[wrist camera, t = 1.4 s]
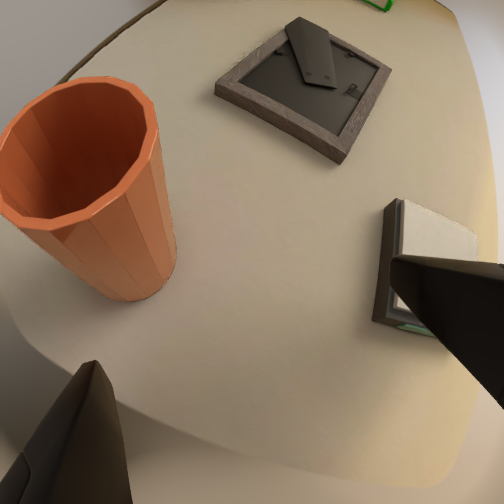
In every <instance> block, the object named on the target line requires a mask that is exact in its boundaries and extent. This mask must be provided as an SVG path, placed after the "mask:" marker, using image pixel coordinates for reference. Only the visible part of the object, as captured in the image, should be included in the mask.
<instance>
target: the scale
mask: <svg viewBox="0 0 504 504" xmlns="http://www.w3.org/2000/svg"><path fill="white" fill-rule="evenodd" d="M400 254H406V255H416V256H427V257H437V258H448V259H458V260H468V261H478V241H477V233H475V232H473V231H471V230H470V229H468V228H466V227H464V226H462V225H460V224H458V223H456V222H454V221H452V220H449V219H447V218H445V217H443V216H441V215H439V214H437V213H435V212H433V211H431V210H428V209H426V208H424V207H422V206H420V205H417V204H415V203H413V202H411V201H408V200H406V199H404V200H403V201H402V200H400V199H397V198H395V199H394V200H393V201H392V202H391V203H390V204H389V205H387V206H386V207H385V209H384V224H383V237H382V248H381V258H380V267H379V275H378V283H377V291H376V298H375V305H374V311H373V318H372V321H374V322H378V323H382V324H386V325H390V326H394V327H397V328H400V329H404V330H408V331H412V332H416V333H421V334H425V335H429V336H433V337H435V336H434V335H433V334H432V333H431V332H430V331H429V330H428V329H427V328H426V327H425V326H424V325H423V324H422V323H421V322H420V321H419V320H418V319H417V318H416V316H415V315H414V314H413V313H412V312H411V311H410V309H409V308H408V307H407V306H406V305H405V303H404V302H403V301H402V300H401V299H400V298H399V296H398V295H397V294H396V293H395V292H394V291H393V289H392V288H391V286H390V284H389V264H390V260H391V259H392V258H393V257H395V256H397V255H400Z"/></svg>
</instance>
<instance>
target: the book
mask: <svg viewBox="0 0 504 504" xmlns="http://www.w3.org/2000/svg"><path fill="white" fill-rule="evenodd" d="M363 1H365V2H367V3H369V4H371V5H373V6H375V7H377V8H379V9H381V10H383V11H388V10H389V9H390V8H391V6H392V4H393V2H394V0H363Z"/></svg>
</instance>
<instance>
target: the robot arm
mask: <svg viewBox="0 0 504 504" xmlns="http://www.w3.org/2000/svg"><path fill="white" fill-rule="evenodd" d="M389 284H390V286H391V288H392V289H393V291H394V292H395V293H396V294H397V295H398V296H399V298H400V299H401V300H402V301H403V302H404V303H405V305H406V306H407V307H408V308H409V309H410V311H411V312H412V313H413V314H414V315H415V316H416V318H417V319H418V320H419V321H420V322H421V323H422V324H423V325H424V326H425V327H426V328H427V329H428V330H429V331H430V332H431V333H432V334H433V335H434V336H435V337H436V338H437V339H438V340H439V341H440V342H441V343H442V344H443V345H444V346H445V347H446V348H447V349H448V350H449V351H450V352H451V353H452V354H453V355H454V356H455V357H456V358H457V359H458V360H459V361H460V362H461V363H462V364H463V365H464V366H465V368H466V369H467V370H468V371H469V372H470V373H471V374H472V375H473V376H474V377H475V378H476V379H477V380H478V381H479V382H480V384H481V385H482V386H483V387H484V388H485V389H486V390H487V391H488V392H489V393H490V395H491V396H492V397H493V398H494V399H495V400H496V401H497V403H498V404H499V405H500V406H501V407H502V408H503V409H504V264H497V263H488V262H478V261H468V260H458V259H448V258H437V257H427V256H416V255H406V254H400V255H397V256H395V257H393V258H392V259H391V260H390V264H389ZM22 451H23V452H20V454H19V455H18V457H17V458H16V460H15V461H14V463H13V464H12V466H11V467H10V469H9V470H8V472H7V473H6V475H5V476H4V478H3V479H2V480H1V482H0V504H133V502H132V497H131V490H130V484H129V478H128V472H127V465H126V457H125V450H124V442H123V435H122V430H121V426H120V421H119V416H118V412H117V407H116V402H115V396H114V391H113V387H112V384H111V382H110V380H109V379H108V377H107V375H106V373H105V372H104V370H103V368H102V366H101V365H100V363H99V362H98V361H96V360H93V361H89V362H86V363H83V364H82V365H81V367H80V368H79V369H78V371H77V372H76V373H75V375H74V376H73V377H72V379H71V380H70V382H69V383H68V384H67V386H66V387H65V388H64V390H63V391H62V393H61V394H60V395H59V397H58V398H57V399H56V401H55V402H54V404H53V405H52V407H51V408H50V409H49V411H48V412H47V414H46V415H45V416H44V418H43V419H42V421H41V422H40V424H39V425H38V427H37V428H36V430H35V431H34V433H33V434H32V435H31V437H30V439H29V440H28V441H27V443H26V445H25V446H24V448H23V449H22Z"/></svg>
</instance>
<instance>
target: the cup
mask: <svg viewBox="0 0 504 504" xmlns="http://www.w3.org/2000/svg"><path fill="white" fill-rule="evenodd" d="M0 214H1V215H2V216H3V217H4V218H6V219H7V220H8V221H9V222H10V223H11V224H12V225H14V226H15V227H16V228H17V229H18V230H19V231H21V232H22V233H23V234H24V235H25V236H27V237H28V238H29V239H30V240H31V241H33V242H34V243H35V244H36V245H38V246H39V247H40V248H41V249H43V250H44V251H45V252H46V253H48V254H49V255H50V256H51V257H53V258H54V259H55V260H57V261H58V262H59V263H60V264H62V265H63V266H64V267H66V268H67V269H68V270H70V271H71V272H72V273H74V274H75V275H76V276H78V277H79V278H81V279H82V280H83V281H85V282H86V283H87V284H89V285H90V286H92V287H93V288H95V289H96V290H97V291H99V292H101V293H102V294H103V295H105V296H107V297H108V298H110V299H114V300H117V301H122V302H134V301H139V300H142V299H145V298H147V297H149V296H151V295H153V294H154V293H156V292H157V291H158V290H159V289H160V288H162V286H163V285H164V284H165V283H166V282H167V280H168V279H169V277H170V275H171V273H172V271H173V268H174V265H175V261H176V242H175V236H174V231H173V225H172V219H171V213H170V207H169V201H168V194H167V188H166V181H165V174H164V167H163V160H162V152H161V145H160V137H159V128H158V124H157V119H156V114H155V110H154V105H153V102H152V101H151V100H150V99H149V98H148V97H147V96H146V95H145V94H144V93H143V92H142V91H141V90H140V89H139V88H138V87H137V86H136V85H135V84H132V83H129V82H126V81H123V80H120V79H117V78H114V77H110V76H104V77H83V78H78V79H75V80H72V81H69V82H66V83H63V84H60V85H57V86H54V87H52V88H51V89H49V90H47V91H46V92H44V93H43V94H41V95H40V96H38V97H37V98H35V99H34V100H32V101H31V102H29V103H28V104H27V105H26V106H24V108H23V109H22V110H21V111H20V112H19V113H18V114H17V115H16V116H15V117H14V118H13V120H12V121H11V122H10V123H9V124H8V125H7V126H6V128H5V129H4V131H3V133H2V135H1V137H0Z"/></svg>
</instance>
